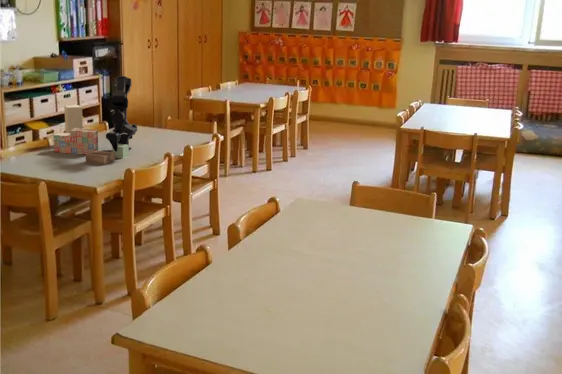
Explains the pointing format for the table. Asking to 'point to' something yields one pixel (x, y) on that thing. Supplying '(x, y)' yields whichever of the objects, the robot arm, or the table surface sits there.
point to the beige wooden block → (73, 117)
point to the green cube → (121, 151)
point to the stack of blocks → (76, 141)
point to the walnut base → (100, 157)
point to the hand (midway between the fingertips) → (120, 149)
